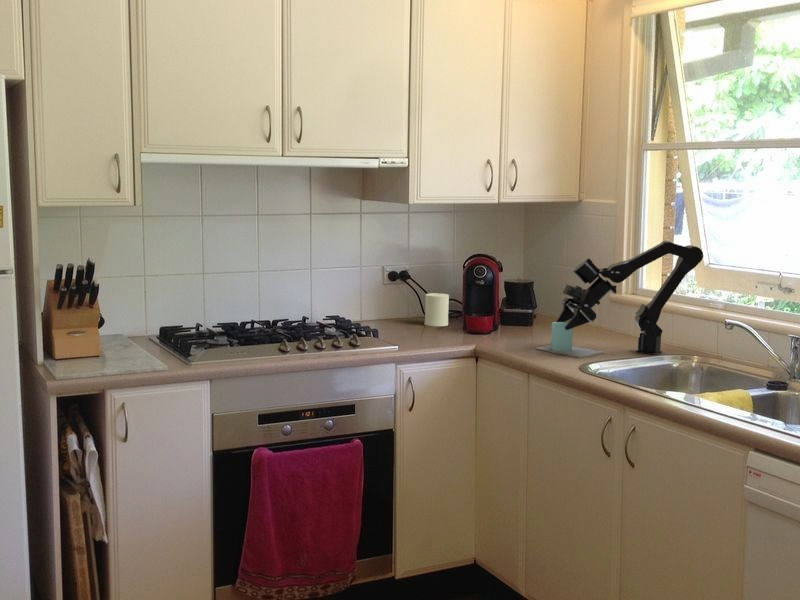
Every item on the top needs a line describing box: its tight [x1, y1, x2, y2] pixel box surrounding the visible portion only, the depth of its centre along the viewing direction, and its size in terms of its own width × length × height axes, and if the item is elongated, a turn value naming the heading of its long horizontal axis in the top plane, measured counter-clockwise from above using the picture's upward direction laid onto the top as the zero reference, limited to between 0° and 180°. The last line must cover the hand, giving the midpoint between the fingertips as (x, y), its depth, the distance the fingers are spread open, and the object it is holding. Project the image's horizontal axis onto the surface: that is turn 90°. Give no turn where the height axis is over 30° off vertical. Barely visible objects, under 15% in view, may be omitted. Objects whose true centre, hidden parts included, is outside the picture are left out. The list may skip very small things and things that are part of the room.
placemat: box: [535, 344, 604, 359], centre depth 301 cm, size 18×13×1 cm
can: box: [424, 292, 450, 327], centre depth 348 cm, size 9×9×12 cm
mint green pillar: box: [550, 321, 574, 351], centre depth 301 cm, size 4×6×9 cm, turn 100°
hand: (560, 326), depth 300 cm, fingers open, 9 cm apart
